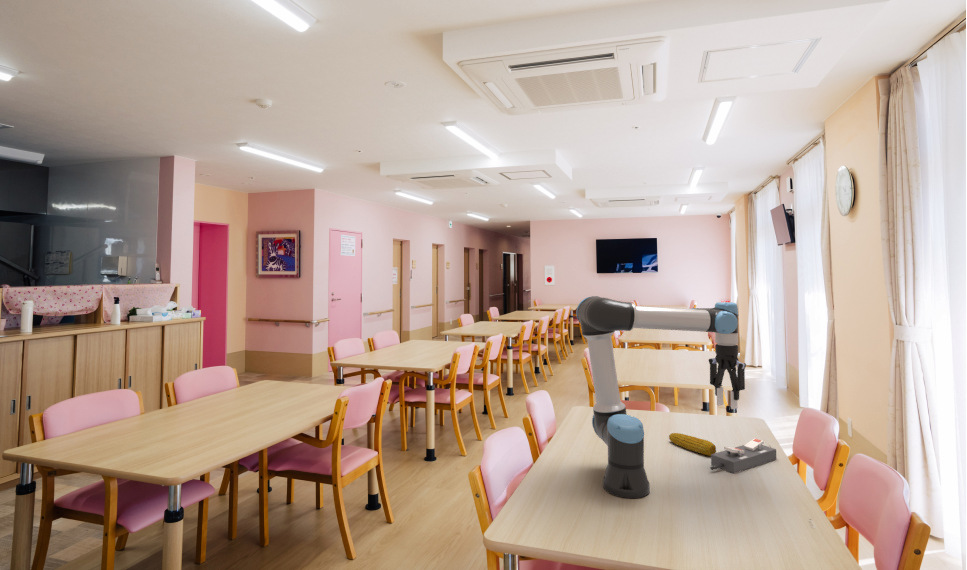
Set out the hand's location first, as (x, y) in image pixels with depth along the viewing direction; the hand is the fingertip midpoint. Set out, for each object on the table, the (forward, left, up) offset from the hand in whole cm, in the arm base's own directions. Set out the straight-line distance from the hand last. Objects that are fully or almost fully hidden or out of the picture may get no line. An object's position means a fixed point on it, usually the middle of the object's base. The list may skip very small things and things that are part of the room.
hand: (727, 406), depth 175 cm
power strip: (+7, 0, -23) cm, 24 cm away
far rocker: (+16, 0, -17) cm, 23 cm away
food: (+4, +19, -23) cm, 30 cm away
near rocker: (+4, 0, -17) cm, 18 cm away
